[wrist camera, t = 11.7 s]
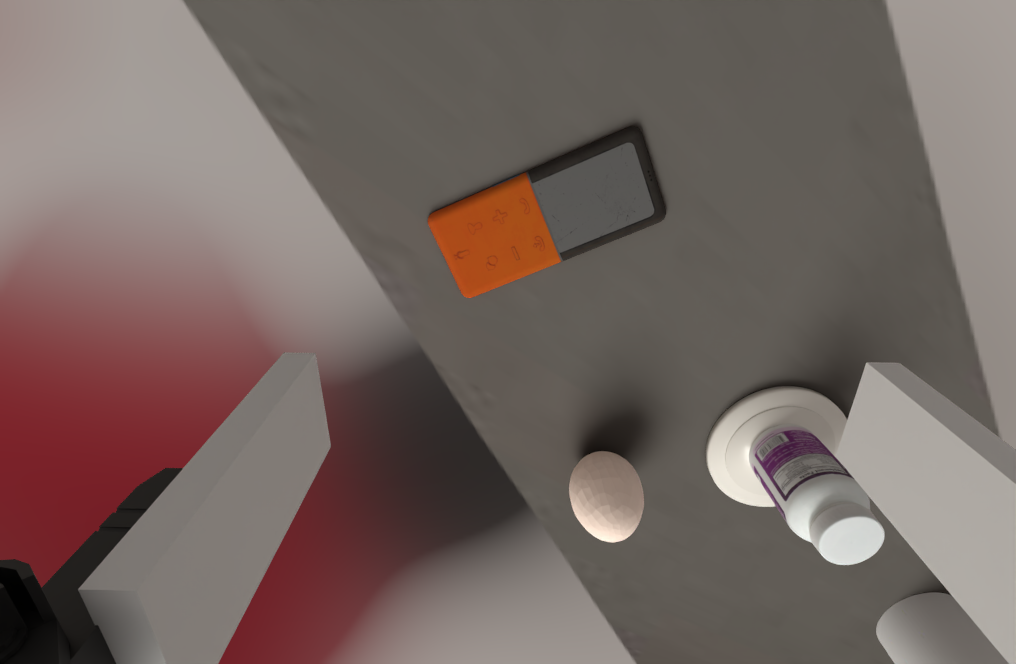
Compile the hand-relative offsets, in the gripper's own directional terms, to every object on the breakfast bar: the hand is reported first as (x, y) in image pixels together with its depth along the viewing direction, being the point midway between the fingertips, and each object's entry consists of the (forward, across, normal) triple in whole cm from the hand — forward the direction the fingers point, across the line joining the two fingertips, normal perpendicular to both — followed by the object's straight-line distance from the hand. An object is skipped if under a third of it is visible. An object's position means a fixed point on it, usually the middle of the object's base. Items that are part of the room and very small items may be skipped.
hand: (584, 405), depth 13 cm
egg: (+24, +5, -21) cm, 33 cm away
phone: (+26, 0, -1) cm, 26 cm away
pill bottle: (+24, +19, -19) cm, 36 cm away
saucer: (+24, +19, -19) cm, 37 cm away
